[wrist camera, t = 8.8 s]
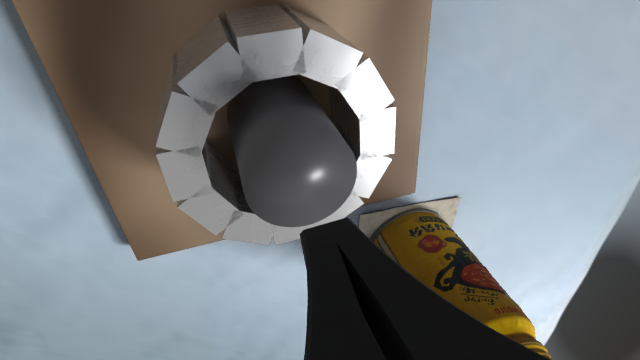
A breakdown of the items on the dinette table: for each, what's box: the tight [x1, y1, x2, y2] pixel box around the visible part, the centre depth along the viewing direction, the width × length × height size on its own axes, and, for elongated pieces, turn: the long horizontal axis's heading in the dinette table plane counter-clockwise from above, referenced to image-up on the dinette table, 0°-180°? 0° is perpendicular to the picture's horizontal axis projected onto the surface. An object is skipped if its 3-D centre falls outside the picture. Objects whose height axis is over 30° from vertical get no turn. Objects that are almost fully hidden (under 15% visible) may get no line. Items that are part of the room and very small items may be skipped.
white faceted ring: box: [156, 4, 396, 245], centre depth 17 cm, size 9×9×4 cm
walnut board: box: [12, 0, 432, 261], centre depth 19 cm, size 16×14×1 cm
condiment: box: [359, 197, 552, 360], centre depth 23 cm, size 7×8×12 cm
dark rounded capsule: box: [226, 75, 357, 227], centre depth 16 cm, size 4×4×6 cm
